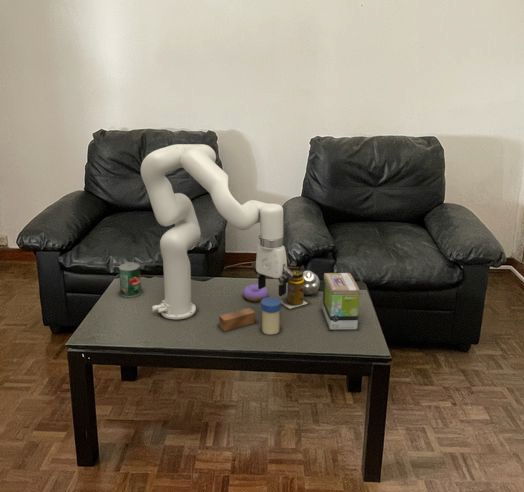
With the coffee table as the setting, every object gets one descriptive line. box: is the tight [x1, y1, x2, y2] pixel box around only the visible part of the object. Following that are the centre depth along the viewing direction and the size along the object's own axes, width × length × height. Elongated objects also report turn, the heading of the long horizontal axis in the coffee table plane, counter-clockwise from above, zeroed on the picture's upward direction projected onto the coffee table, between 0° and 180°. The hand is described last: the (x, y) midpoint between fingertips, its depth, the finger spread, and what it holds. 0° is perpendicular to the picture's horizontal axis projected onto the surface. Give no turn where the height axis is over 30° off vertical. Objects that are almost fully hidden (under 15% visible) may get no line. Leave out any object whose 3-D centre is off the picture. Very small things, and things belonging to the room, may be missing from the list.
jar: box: [261, 309, 281, 335], centre depth 185 cm, size 6×6×10 cm
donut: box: [242, 284, 269, 302], centre depth 210 cm, size 10×9×5 cm
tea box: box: [321, 272, 361, 331], centre depth 192 cm, size 15×10×15 cm, turn 4°
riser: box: [218, 307, 256, 332], centre depth 189 cm, size 12×4×4 cm, turn 121°
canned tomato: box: [118, 261, 142, 298], centre depth 213 cm, size 8×8×11 cm
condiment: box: [280, 269, 308, 310], centre depth 205 cm, size 7×8×12 cm
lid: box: [260, 296, 282, 313], centre depth 184 cm, size 7×7×2 cm
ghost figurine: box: [302, 270, 321, 296], centre depth 212 cm, size 9×10×10 cm
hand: (272, 291), depth 183 cm, fingers open, 8 cm apart
